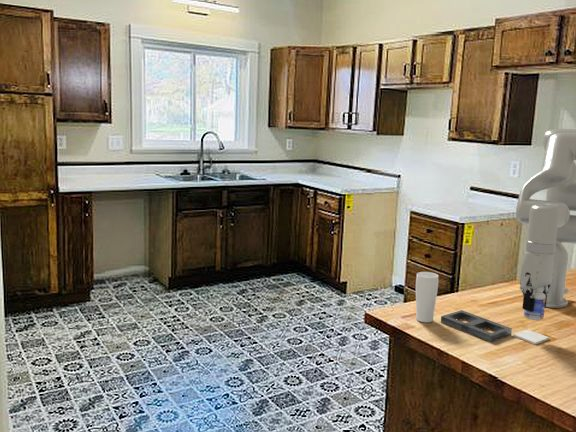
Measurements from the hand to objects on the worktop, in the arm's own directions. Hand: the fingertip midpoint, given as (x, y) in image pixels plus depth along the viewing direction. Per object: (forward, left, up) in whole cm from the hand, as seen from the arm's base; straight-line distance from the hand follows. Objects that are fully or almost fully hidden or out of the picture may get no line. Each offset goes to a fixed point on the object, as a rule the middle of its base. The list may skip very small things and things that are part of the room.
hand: (534, 307), depth 157 cm
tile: (0, 0, -9) cm, 9 cm away
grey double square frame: (+8, -14, -9) cm, 18 cm away
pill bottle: (0, 0, -3) cm, 3 cm away
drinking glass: (+16, -27, -10) cm, 32 cm away
